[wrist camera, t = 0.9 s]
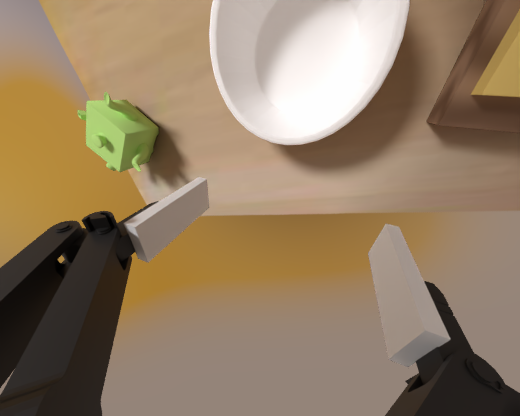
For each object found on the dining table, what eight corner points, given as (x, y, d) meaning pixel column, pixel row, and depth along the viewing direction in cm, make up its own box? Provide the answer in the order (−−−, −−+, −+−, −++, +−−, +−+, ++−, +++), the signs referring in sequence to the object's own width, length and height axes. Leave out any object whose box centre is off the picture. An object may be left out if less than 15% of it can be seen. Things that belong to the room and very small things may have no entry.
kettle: (152, 91, 40) (98, 91, 31) (177, 157, 46) (139, 173, 37) (108, 105, 45) (52, 108, 36) (137, 162, 52) (95, 176, 43)
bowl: (348, -133, 19) (354, -254, 13) (414, 78, 26) (442, 73, 19) (211, 41, 31) (177, 27, 25) (278, 157, 37) (266, 171, 31)
